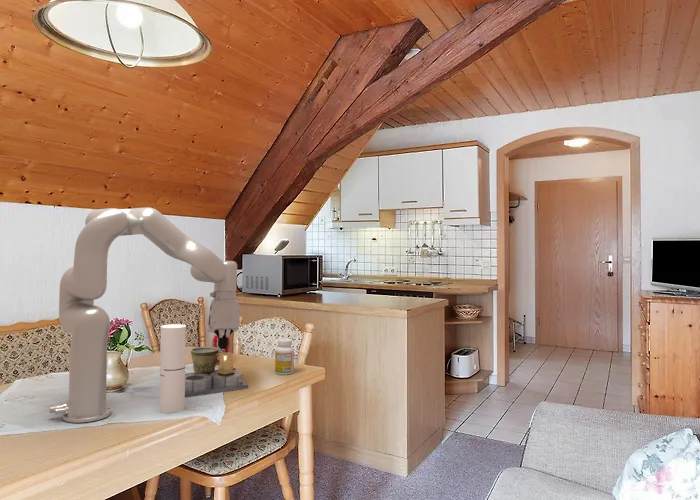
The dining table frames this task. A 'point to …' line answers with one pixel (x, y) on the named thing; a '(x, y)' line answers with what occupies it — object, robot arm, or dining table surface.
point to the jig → (212, 382)
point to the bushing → (226, 364)
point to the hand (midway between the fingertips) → (222, 348)
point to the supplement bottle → (284, 357)
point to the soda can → (215, 344)
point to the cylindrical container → (172, 368)
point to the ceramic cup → (204, 358)
